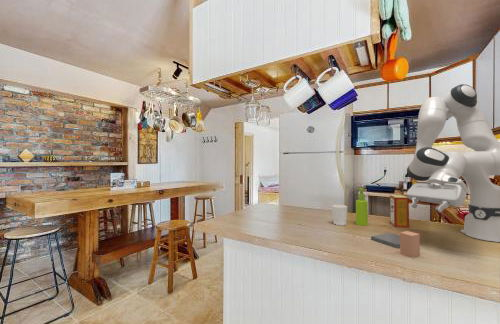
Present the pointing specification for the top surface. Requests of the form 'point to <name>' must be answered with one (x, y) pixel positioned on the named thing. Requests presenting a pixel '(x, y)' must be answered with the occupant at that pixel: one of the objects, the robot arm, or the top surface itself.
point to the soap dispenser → (361, 209)
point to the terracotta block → (410, 244)
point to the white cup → (339, 214)
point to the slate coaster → (388, 239)
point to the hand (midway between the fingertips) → (425, 208)
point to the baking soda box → (399, 211)
